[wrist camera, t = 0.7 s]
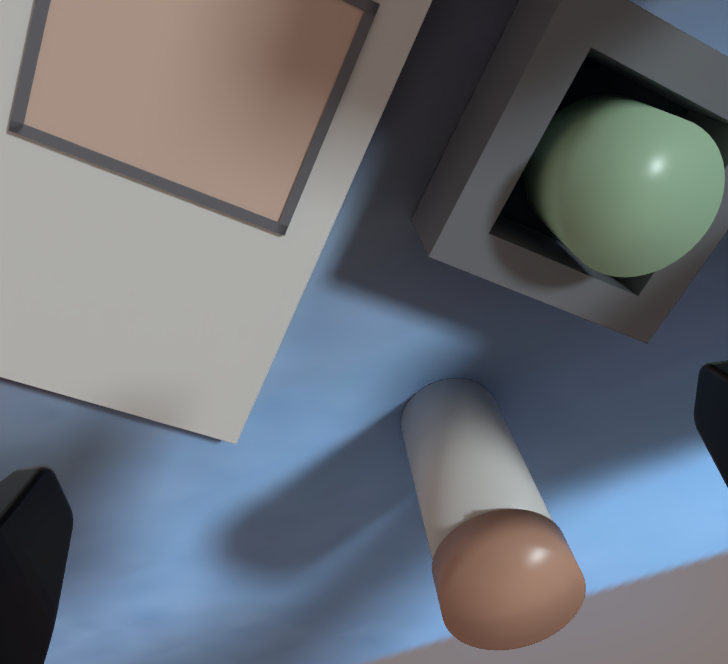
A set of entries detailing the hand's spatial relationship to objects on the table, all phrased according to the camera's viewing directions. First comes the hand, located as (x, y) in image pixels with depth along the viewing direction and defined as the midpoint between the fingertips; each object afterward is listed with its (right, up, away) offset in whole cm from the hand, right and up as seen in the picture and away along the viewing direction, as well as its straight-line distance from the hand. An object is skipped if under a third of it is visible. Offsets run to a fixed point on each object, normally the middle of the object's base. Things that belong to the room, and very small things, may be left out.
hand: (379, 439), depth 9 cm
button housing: (+6, +7, +11) cm, 14 cm away
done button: (+6, +6, +10) cm, 13 cm away
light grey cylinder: (+3, -2, +15) cm, 16 cm away
